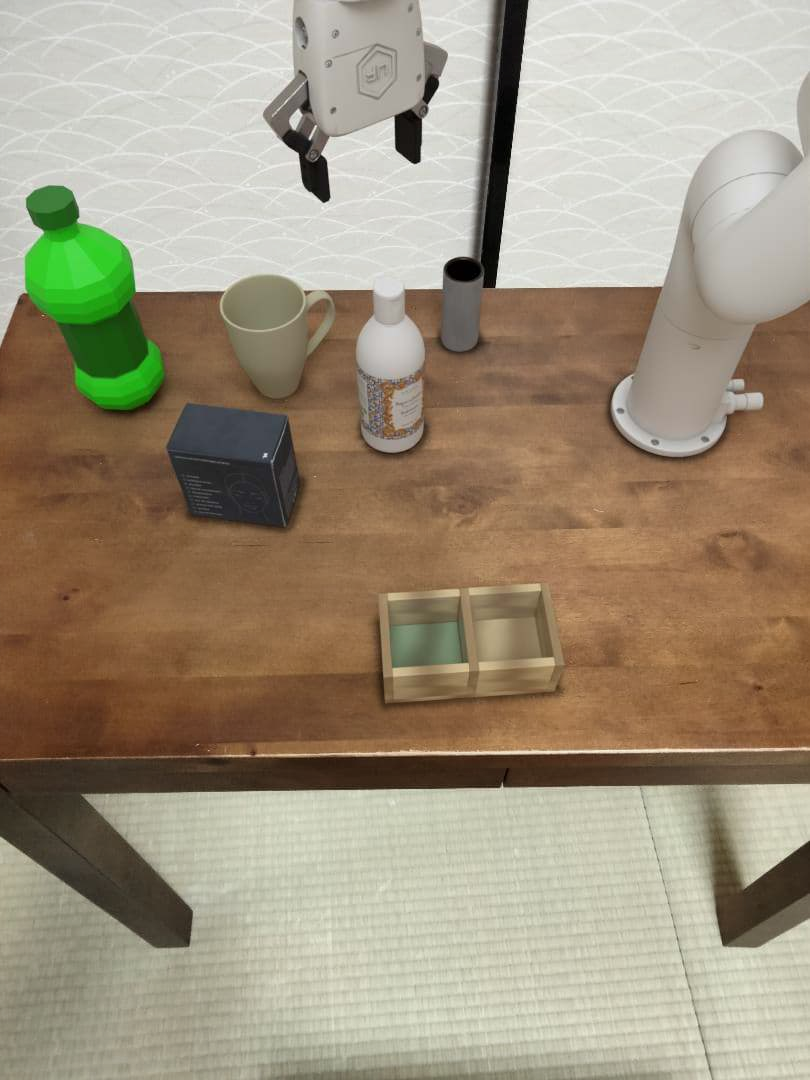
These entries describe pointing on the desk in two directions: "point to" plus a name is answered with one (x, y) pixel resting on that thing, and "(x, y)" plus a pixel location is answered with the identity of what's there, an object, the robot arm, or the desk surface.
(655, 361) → the robot arm
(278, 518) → the box
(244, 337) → the mug
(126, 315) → the plastic bottle
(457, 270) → the grey hollow cylinder
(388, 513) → the desk surface
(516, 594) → the wooden divided tray
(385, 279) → the bath foam
